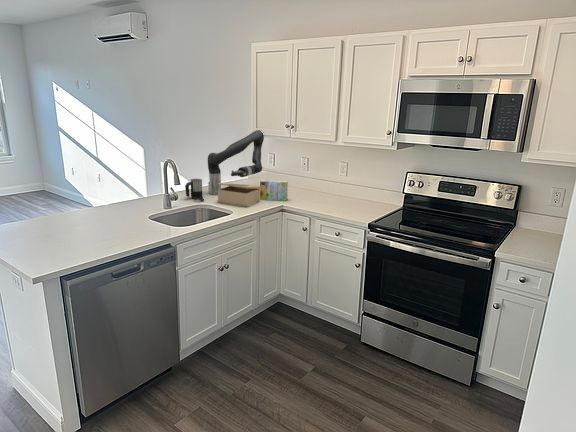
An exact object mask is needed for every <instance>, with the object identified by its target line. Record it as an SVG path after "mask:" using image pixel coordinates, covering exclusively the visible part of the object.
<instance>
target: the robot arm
mask: <svg viewBox="0 0 576 432" xmlns="http://www.w3.org/2000/svg"><path fill="white" fill-rule="evenodd" d="M260 130H261V129H257V130H255V131H252V132H251V133H249V134H248V135H246V136H245V137H243V138H241V139H239V140H236V141H235V142H233V143H231V144H229V145H228V147H226V148H225V149H224V150H222V151H219V152H217V153H216V152H210V153H209V154H208V155H207V169H208V177H209V178H208V180H209V181H208V183H207V185H208V194H209V195H212V196H213V195H214V196H218V190H219V189H222V185H219V184H217V183H222V179H221V177H222V176H221V174H222V173H221V168H220V164H222V163H223V162H225V161H226V160H228V159H230V158H231V157H234V156H236V155H238V154H240V153H242V152H244V151H245V150H246V149H247V148H248V146H251V144H252V143H253V151H252V157H251V158H252V159H251V160H252V161H251V162H252V163H253V164H252V165H248V166H246V165H245V166H241V167H239V168H238V169H237V170H231V173H230V176H231V177H239V178H245V177H249V176H252V175H255V174H258V173H259V174H260V173H261V172H262V170H263V166H262V147H263V144H264V143H263V142H264V141H265V134H264V135H263V133H264V132H263V133H262V132H261V131H262V130H261V131H260Z"/></svg>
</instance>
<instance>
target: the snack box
mask: <svg viewBox="0 0 576 432" xmlns="http://www.w3.org/2000/svg"><path fill="white" fill-rule="evenodd" d="M288 182H289V181H288V180H270V179H261V180H260V182H259V187H260V200H261V201H262V200H264V201H279V202H281V201H283V202H284V201H285V202H286V201H288V190H289V189H288V186H289V184H288Z"/></svg>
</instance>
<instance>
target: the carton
mask: <svg viewBox="0 0 576 432" xmlns="http://www.w3.org/2000/svg"><path fill="white" fill-rule="evenodd" d="M217 202H218V203H219V204H224V205H231V206H235V207H236V206H237V207H245V208H249V207H251V206H253V205H255V204H258V203H260V189H258V188H241V187H234V186H226V187H221V189H219V190H218V195H217Z"/></svg>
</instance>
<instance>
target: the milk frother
mask: <svg viewBox="0 0 576 432" xmlns="http://www.w3.org/2000/svg"><path fill="white" fill-rule="evenodd" d="M184 189H185V196H186V197H189V198H190V199H192V200H198V201H200V202H203V201H205V199H204V196H203V178H191V179H190V181H188V182H187V183H185V187H184Z"/></svg>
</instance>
